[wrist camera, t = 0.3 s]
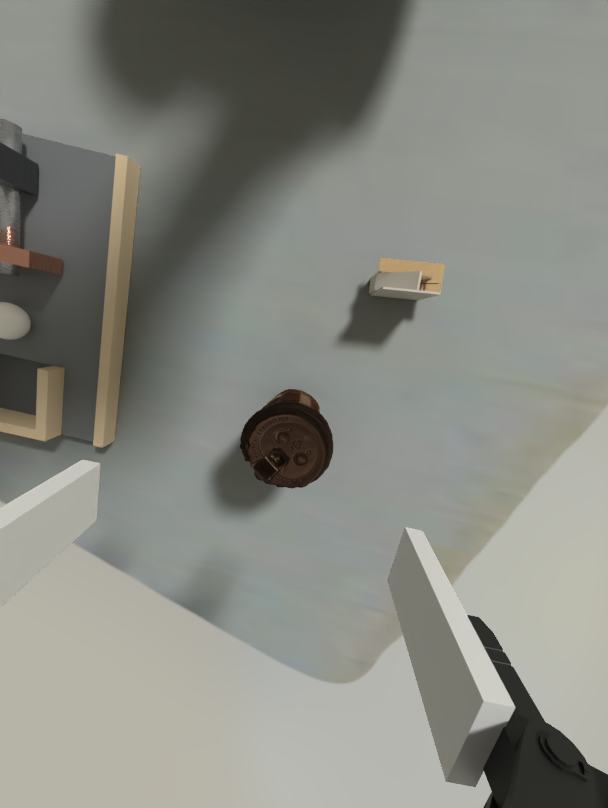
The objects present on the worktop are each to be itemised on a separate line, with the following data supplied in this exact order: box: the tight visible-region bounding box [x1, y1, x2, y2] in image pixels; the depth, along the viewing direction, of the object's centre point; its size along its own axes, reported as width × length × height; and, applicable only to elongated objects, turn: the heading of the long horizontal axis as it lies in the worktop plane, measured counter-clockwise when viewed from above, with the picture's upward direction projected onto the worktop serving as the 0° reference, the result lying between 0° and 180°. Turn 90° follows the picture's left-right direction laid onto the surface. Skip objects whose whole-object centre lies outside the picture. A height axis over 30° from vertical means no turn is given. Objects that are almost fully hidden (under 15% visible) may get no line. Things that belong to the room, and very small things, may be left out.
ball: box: [0, 302, 31, 340], centre depth 36 cm, size 4×4×4 cm
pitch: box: [0, 134, 141, 448], centre depth 37 cm, size 32×22×4 cm
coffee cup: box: [240, 389, 333, 488], centre depth 35 cm, size 9×8×13 cm
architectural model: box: [369, 258, 445, 300], centre depth 34 cm, size 3×7×7 cm, turn 84°
